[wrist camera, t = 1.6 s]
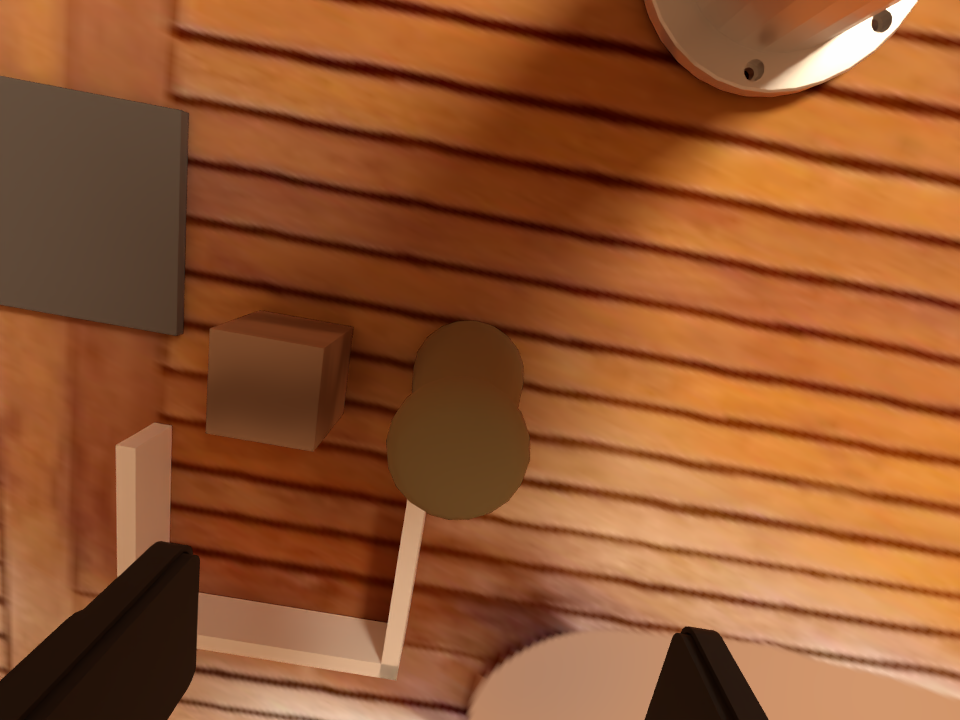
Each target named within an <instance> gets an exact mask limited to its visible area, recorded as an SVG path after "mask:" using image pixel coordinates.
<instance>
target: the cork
mask: <svg viewBox="0 0 960 720" xmlns="http://www.w3.org/2000/svg"><path fill="white" fill-rule="evenodd" d="M522 387H523V363H522V360H521V357H520V354H519V351H518V349H517V348H516V346H515V345H514V344H513V342H512V341H511V340H510V338H509V337H508V336H507V335H506V334H504V333H503V332H501V331H500V330H498V329H497V328H495V327H494V326H492V325H489V324H485V323H482V322H478V321H457V322H454V323H451V324H448V325H445V326H442V327H440V328H439V329H438V330H436V331H435V332H434V333H432V334H431V335H430V336H429V337H427V339H426V340H425V342H424V343H423V345H422V346H421V348H420V349H419V351H418V353H417V356H416V360H415V364H414V367H413V382H412V394H411V395H410V396H408V397H407V398H406V399H405V401H404V402H403V404H402V405H401V407H400V408H399V410H398V411H397V412H396V414H395V416H394V417H393V419H392V421H391V425H390V429H389V432H388V436H387V440H386V445H387V458H388V468H389V471H390V473H391V475H392V478H393V480H394V482H395V485H396V487H397V488H398V489H399V490H400V491H401V493H402V494H403V495H404V496H405V497H406V498H407V499H408V500H409V502H410V503H412V504H413V505H415V506H417V507H418V508H420V509H422V510H423V511H425V512H427V513H428V514H430V515H433V516H437V517H440V518H444V519H448V520H469V519H472V518H475V517H479V516H482V515H485V514H488V513H491V512H493V511H494V510H496V509H497V508H499V507H500V506H502V505H503V504H505V503H506V502H508V501H509V499H510V498H511V497H512V495H513V494H514V493H515V492H516V490H517V489H518V488H519V487H520V485H521V483H522V480H523V478H524V475H525V472H526V469H527V466H528V464H529V461H530V437H529V433H528V430H527V427H526V424H525V421H524V418H523V416H522V413H521V411H520V410H519V409H518V406H519V401H520V396H521V391H522Z"/></svg>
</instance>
